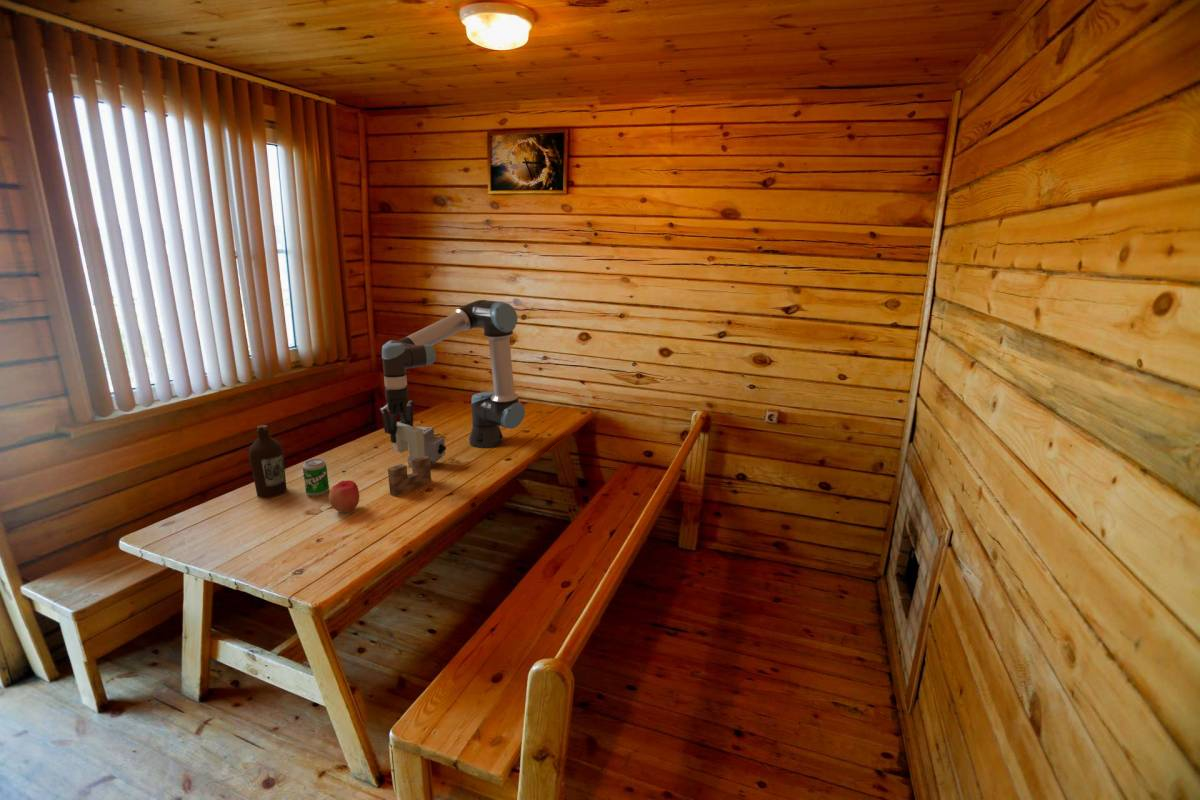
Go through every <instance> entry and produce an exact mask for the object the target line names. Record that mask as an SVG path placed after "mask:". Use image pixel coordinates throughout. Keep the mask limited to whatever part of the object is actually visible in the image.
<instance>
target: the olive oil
mask: <svg viewBox="0 0 1200 800" xmlns="http://www.w3.org/2000/svg"><path fill="white" fill-rule="evenodd" d="M256 429H257V430H256V431H257V438H256V439H255V441H253V443H252V444H251V445H250V446H249V450H248V459H249V462H250V463H249V464H250V468H251V473H252V476H253V482H254V487H255V492H256V496H257V497H260V498H262V499H263V498H265V499H267V498H274V497H278V496H281V495H283V494H285V493H286V491H287V489H288V488H287V480H286V468H285V456H284V455H285V453H284V448H283V446H282V444H281V443H280V442H279V441H277V439H275V438H273V437H272V436H270V434H269V433H270V431H269V429H268V425H266V424H262V425H258V426H257V427H256Z"/></svg>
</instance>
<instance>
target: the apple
mask: <svg viewBox="0 0 1200 800" xmlns="http://www.w3.org/2000/svg"><path fill="white" fill-rule="evenodd" d="M328 501H329V505H331V507H332V508H333V509H334V510H335V511H337V512H339V513H349V512H352V511H354V510H355V509H356V508H357V506H358V505H359V502H360V491H359V488H358V485H357V483H356V482H355V481H354V480H341V481H339V482H338V483H336V484H334V485H333V486H332V487H331V488H330V491H329V494H328Z"/></svg>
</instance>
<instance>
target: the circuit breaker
mask: <svg viewBox="0 0 1200 800" xmlns="http://www.w3.org/2000/svg"><path fill="white" fill-rule="evenodd" d="M415 427H416V428H420V429H423V438H424V453H425V456H427V457H430V467H432V466H433V465H434V464H436V463H437V462H439V460H441V459H442V458H444V456H446V450H447V446H446V443H445V439H446V438H445V437H443V436H442V437H441V436H435V430H434V429H435V428H434V427H427V426H415ZM414 459H416V458H415V457H412V456H409V455H408V456H407V464H408V466H407V468H411V469H412V460H414Z"/></svg>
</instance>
